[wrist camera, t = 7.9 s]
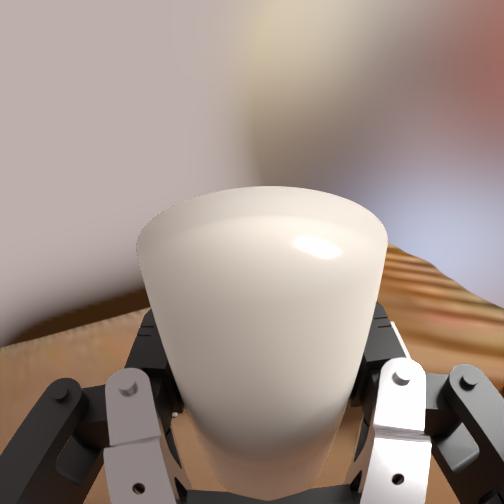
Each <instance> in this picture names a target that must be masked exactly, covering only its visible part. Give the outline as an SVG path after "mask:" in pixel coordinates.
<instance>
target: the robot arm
mask: <svg viewBox="0 0 504 504" xmlns="http://www.w3.org/2000/svg"><path fill="white" fill-rule="evenodd" d="M349 399H350V403H351V407H357V406H362V410H363V416H362V418H361V422H360V427H359V432H358V436H357V440H356V445H355V449H354V453H353V457H352V461H351V465H350V468H349V471H348V473H347V476H346V478H345V481H344V484H343V485H337V486H330V487H323V488H314V489H309V490H306V491H303V492H299V493H296V494H293V495H290V496H286V497H283V498H279V499H275V500H271V501H266V500H260V499H255V498H251V497H246V496H242V495H237V494H233V493H229V492H217V491H201V490H193V488H192V485H191V483H190V481H189V479H188V477H187V474H186V472H185V469H184V466H183V463H182V459H181V456H180V453H179V449H178V446H177V443H176V439H175V435H174V432H173V428H172V425H171V419H172V414H173V413H183V408H184V402H183V400H182V397H181V395H180V392H179V389H178V387H177V384H176V381H175V378H174V376H173V373H172V370H171V367H170V364H169V362H168V359H167V356H166V353H165V350H164V347H163V344H162V341H161V337H160V334H159V331H158V328H157V325H156V322H155V318H154V315H153V312H152V308H151V309H150V310H149V311H148V312H147V313H146V314H145V316H144V318H143V321H142V323H141V328H139V331H138V333H137V337H136V338H135V341H134V344H133V346H132V349H131V351H130V354H129V357H128V360H127V362H126V365H125V368H124V369H121V370H119V371H117V372H115V373H114V374H113V375H111V377H110V378H109V379H108V380H107V383H106V384H105V385H101V386H95V387H89V388H81V386H80V385H79V383H78V382H77V381H76V380H74V379H71V378H61V379H58V380H56V381H54V382H53V383H51V384H50V385H49V386H48V387H47V389H46V390H45V392H44V393H43V394H42V396H41V397H40V398H39V400H38V401H37V403H36V404H35V405H34V407H33V408H32V410H31V411H30V412H29V414H28V415H27V417H26V418H25V420H24V421H23V422H22V424H21V425H20V427H19V428H18V430H17V431H16V433H15V434H14V436H13V437H12V439H11V440H10V442H9V443H8V445H7V446H6V448H5V449H4V451H3V453H2V454H1V456H0V504H83V502H84V500H85V498H86V496H87V494H88V492H89V490H90V489H91V487H92V485H93V483H94V481H95V479H96V477H97V475H98V473H99V471H100V469H101V468H102V466H103V464H105V471H106V478H107V484H108V490H109V495H110V501H111V504H424V502H425V496H426V489H427V482H428V473H429V464H430V453H432V455H433V456H434V458H435V460H436V462H437V463H438V465H439V467H440V468H441V470H442V472H443V474H444V475H445V477H446V479H447V481H448V482H449V484H450V486H451V488H452V489H453V491H454V493H455V495H456V496H457V498H458V500H459V502H460V504H504V398H503V397H502V396H501V394H500V393H499V392H498V390H497V389H496V388H495V387H494V385H493V384H492V383H491V382H490V381H489V379H488V378H487V377H486V376H485V374H484V373H483V372H482V371H481V370H480V369H479V368H477V367H476V366H473V365H470V364H460V365H457V366H456V367H454V368H453V369H452V371H451V372H450V374H449V375H443V374H432V373H426V372H424V371H423V369H422V368H421V366H420V365H419V364H418V363H416V362H415V361H413V360H410V359H407V357H406V355H405V353H404V350H403V348H402V346H401V344H400V342H399V340H398V337H397V335H396V333H395V331H394V329H393V327H392V325H391V323H390V320H389V319H388V316H387V314H386V312H385V310H384V308H383V306H382V305H381V304H379V303H378V302H377V301H376V305H375V309H374V314H373V318H372V322H371V326H370V330H369V334H368V337H367V341H366V345H365V349H364V352H363V356H362V359H361V363H360V366H359V370H358V373H357V376H356V379H355V383H354V386H353V389H352V392H351V395H350V398H349ZM462 422H463V423H462ZM463 424H464V425H465V426H464V425H463ZM465 427H466V428H467V429H466V428H465ZM467 430H468V431H469V432H468V431H467ZM469 433H470V434H471V435H470V434H469ZM70 436H71V437H70ZM471 436H472V437H473V438H472V437H471ZM68 439H69V440H68ZM473 439H474V440H475V441H474V440H473ZM67 441H68V442H67ZM475 442H476V443H477V444H476V443H475ZM65 444H66V445H65ZM477 445H478V446H477ZM64 446H65V447H64ZM62 449H63V450H62ZM61 451H62V452H61ZM59 454H60V455H59ZM58 456H59V457H58Z"/></svg>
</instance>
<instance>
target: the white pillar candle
mask: <svg viewBox="0 0 504 504" xmlns="http://www.w3.org/2000/svg"><path fill="white" fill-rule="evenodd" d="M387 244H388V240H387V233H386V230H385V228H384V226H383V225H382V223H381V222H380V220H379V219H378V218H377V217H376V216H375V215H373V214H372V213H371V212H370V211H368V210H367V209H365V208H364V207H362V206H360V205H358V204H356V203H354V202H352V201H350V200H348V199H345V198H342V197H339V196H336V195H333V194H329V193H325V192H321V191H316V190H310V189H303V188H295V187H280V186H260V187H245V188H236V189H230V190H223V191H218V192H213V193H209V194H205V195H201V196H198V197H195V198H191V199H189V200H186V201H183V202H181V203H179V204H177V205H174V206H172V207H170V208H168V209H167V210H165V211H163V212H162V213H160V214H159V215H157V216H156V217H155V218H153V219H152V220H151V221H150V222H149V223H148V224H147V225H146V226H145V227H144V228H143V230H142V231H141V233H140V235H139V237H138V240H137V245H136V246H137V247H136V252H137V256H138V260H139V264H140V268H141V272H142V276H143V279H144V283H145V287H146V291H147V294H148V298H149V301H150V304H151V308H152V312H153V315H154V318H155V322H156V325H157V328H158V331H159V334H160V337H161V341H162V344H163V347H164V350H165V353H166V356H167V359H168V362H169V364H170V367H171V370H172V373H173V376H174V378H175V381H176V384H177V387H178V389H179V392H180V395H181V397H182V400H183V402H184V405H185V408H186V410H187V413H188V415H189V418H190V420H191V423H192V425H193V427H194V430H195V432H196V434H197V437H198V439H199V441H200V444H201V446H202V448H203V451H204V453H205V455H206V457H207V459H208V462H209V464H210V466H211V468H212V470H213V472H214V474H215V476H216V478H217V479H218V481H219V482H220V484H221V485H222V486H223V487H224V488H225V489H227V490H228V491H229V492H230V493H233V494H237V495H242V496H246V497H251V498H255V499H260V500H266V501H271V500H275V499H279V498H283V497H286V496H290V495H293V494H296V493H299V492H303V491H306V490H307V489H309V488H310V487H311V486H312V485H313V484H314V482H315V481H316V480H317V479H318V477H319V475H320V474H321V472H322V469H323V467H324V465H325V462H326V460H327V457H328V455H329V453H330V450H331V448H332V445H333V442H334V440H335V437H336V435H337V432H338V429H339V427H340V424H341V421H342V418H343V416H344V413H345V410H346V407H347V404H348V401H349V398H350V395H351V392H352V389H353V386H354V383H355V379H356V376H357V373H358V370H359V366H360V363H361V359H362V356H363V352H364V349H365V345H366V341H367V337H368V334H369V330H370V326H371V322H372V318H373V314H374V309H375V305H376V301H377V296H378V291H379V287H380V282H381V277H382V272H383V267H384V261H385V256H386V250H387Z"/></svg>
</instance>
